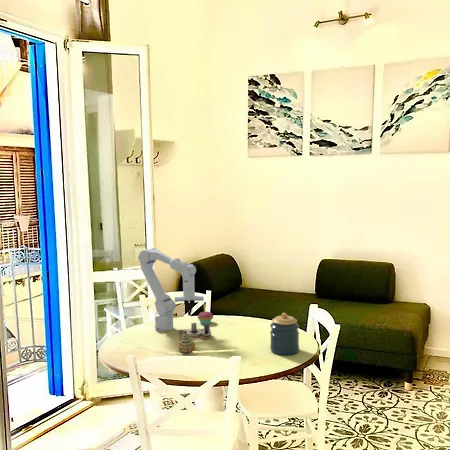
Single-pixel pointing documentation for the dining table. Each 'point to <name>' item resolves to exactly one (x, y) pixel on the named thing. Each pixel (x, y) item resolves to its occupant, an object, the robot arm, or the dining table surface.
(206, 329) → the flange
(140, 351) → the dining table surface
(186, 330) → the board
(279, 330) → the canister
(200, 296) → the robot arm
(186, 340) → the topped waffle
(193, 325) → the post
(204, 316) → the cupcake
